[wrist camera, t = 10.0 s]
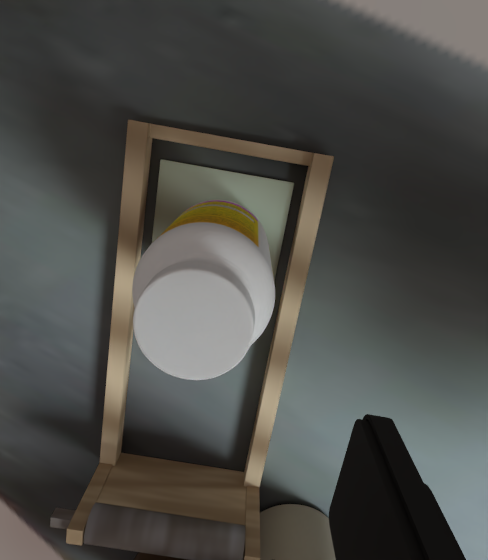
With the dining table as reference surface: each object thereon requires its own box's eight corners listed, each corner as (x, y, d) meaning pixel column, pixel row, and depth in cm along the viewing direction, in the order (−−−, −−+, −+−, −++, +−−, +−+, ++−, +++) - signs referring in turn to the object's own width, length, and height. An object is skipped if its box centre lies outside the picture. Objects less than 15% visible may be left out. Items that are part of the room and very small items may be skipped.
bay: (112, 116, 26) (60, 105, 19) (329, 156, 27) (357, 158, 20) (87, 464, 34) (43, 547, 27) (255, 490, 35) (255, 578, 28)
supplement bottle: (153, 219, 28) (74, 277, 16) (247, 182, 27) (241, 212, 15) (193, 308, 30) (150, 422, 17) (282, 276, 29) (304, 372, 17)
